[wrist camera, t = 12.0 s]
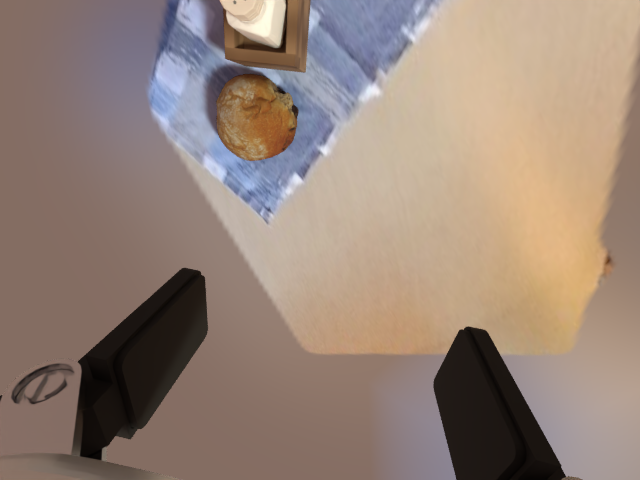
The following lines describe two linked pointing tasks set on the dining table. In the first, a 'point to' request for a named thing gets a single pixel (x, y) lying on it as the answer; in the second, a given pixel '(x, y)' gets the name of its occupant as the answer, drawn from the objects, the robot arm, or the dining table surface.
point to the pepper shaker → (258, 19)
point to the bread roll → (255, 117)
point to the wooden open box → (265, 56)
